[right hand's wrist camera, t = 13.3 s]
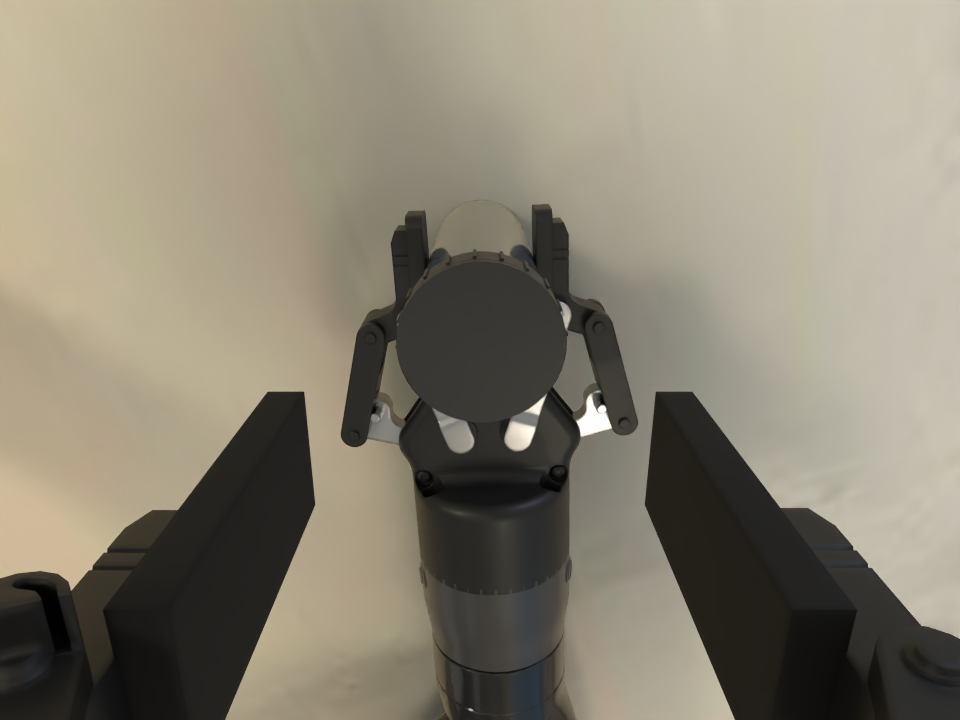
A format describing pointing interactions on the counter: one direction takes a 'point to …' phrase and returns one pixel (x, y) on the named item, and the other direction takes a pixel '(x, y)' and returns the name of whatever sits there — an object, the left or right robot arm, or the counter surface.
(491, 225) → the jar
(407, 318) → the lid
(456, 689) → the left robot arm
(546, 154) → the counter surface
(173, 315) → the counter surface
